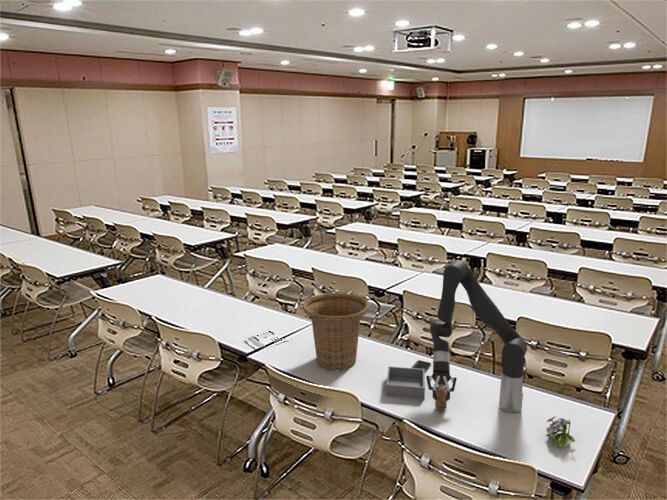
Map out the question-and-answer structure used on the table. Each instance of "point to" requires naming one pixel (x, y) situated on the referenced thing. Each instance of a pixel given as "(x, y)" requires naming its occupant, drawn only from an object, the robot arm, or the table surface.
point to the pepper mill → (441, 397)
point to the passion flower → (557, 427)
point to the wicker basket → (336, 327)
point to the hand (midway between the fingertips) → (441, 399)
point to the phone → (422, 365)
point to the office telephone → (261, 343)
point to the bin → (405, 382)
